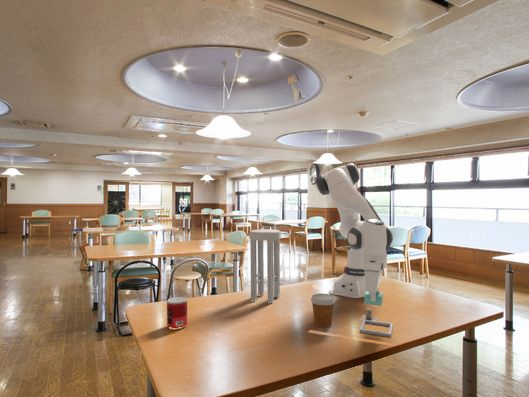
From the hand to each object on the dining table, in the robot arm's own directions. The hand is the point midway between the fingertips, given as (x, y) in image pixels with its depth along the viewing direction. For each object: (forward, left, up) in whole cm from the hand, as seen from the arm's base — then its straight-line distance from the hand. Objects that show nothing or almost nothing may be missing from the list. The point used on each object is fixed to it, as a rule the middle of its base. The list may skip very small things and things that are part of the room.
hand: (374, 298), depth 127 cm
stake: (-3, +10, -13) cm, 17 cm away
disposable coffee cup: (-19, -3, -13) cm, 24 cm away
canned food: (-73, -26, -13) cm, 79 cm away
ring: (0, 0, -2) cm, 2 cm away
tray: (+1, 0, -13) cm, 13 cm away
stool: (-55, +21, -13) cm, 61 cm away
